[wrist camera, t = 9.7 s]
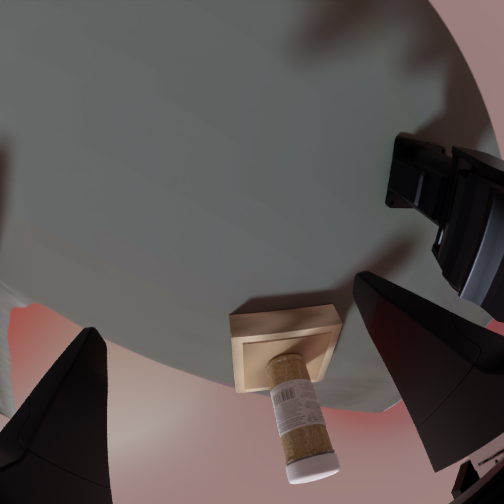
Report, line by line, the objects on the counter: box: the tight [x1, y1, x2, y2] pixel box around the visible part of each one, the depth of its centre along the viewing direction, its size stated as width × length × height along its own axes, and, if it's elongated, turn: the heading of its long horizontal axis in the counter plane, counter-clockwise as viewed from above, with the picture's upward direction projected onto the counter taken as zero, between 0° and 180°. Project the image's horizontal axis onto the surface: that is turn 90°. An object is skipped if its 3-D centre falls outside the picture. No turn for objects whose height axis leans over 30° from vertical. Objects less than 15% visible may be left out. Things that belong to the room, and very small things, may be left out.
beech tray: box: [229, 304, 343, 393], centre depth 29 cm, size 11×11×3 cm
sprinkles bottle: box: [265, 354, 340, 484], centre depth 22 cm, size 5×5×13 cm
